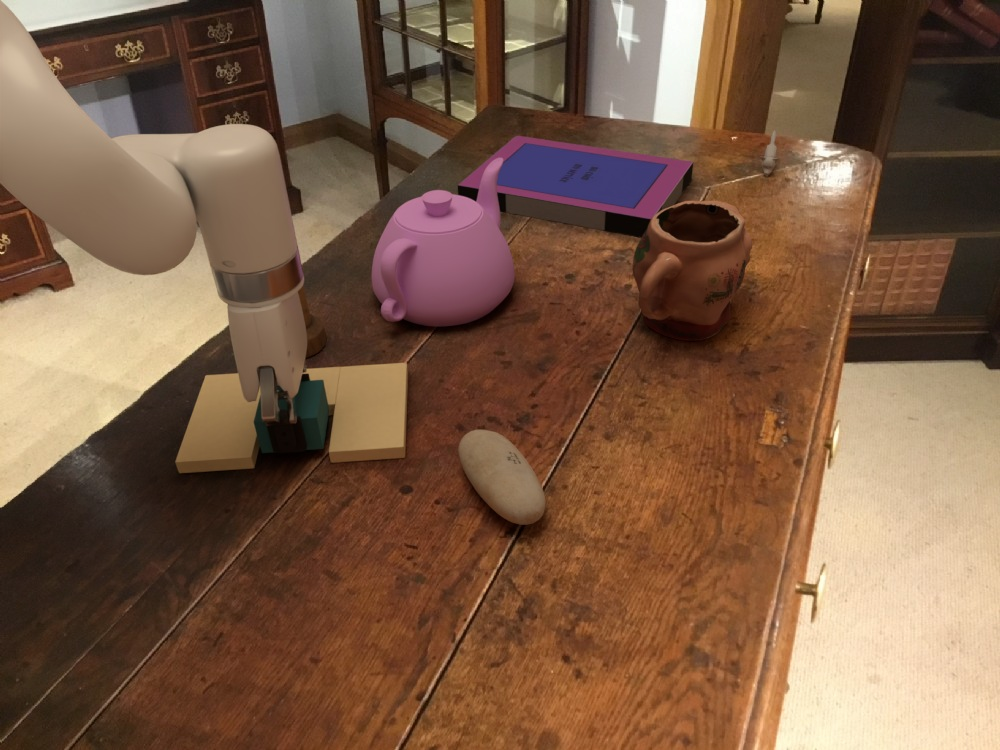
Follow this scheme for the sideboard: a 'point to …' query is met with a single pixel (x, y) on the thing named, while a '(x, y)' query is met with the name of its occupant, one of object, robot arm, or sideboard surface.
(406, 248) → the teapot
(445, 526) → the sideboard surface
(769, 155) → the dog figurine
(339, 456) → the tan u-shaped block
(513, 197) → the book
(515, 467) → the stone
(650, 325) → the decorative planter
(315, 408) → the teal block
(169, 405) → the sideboard surface
